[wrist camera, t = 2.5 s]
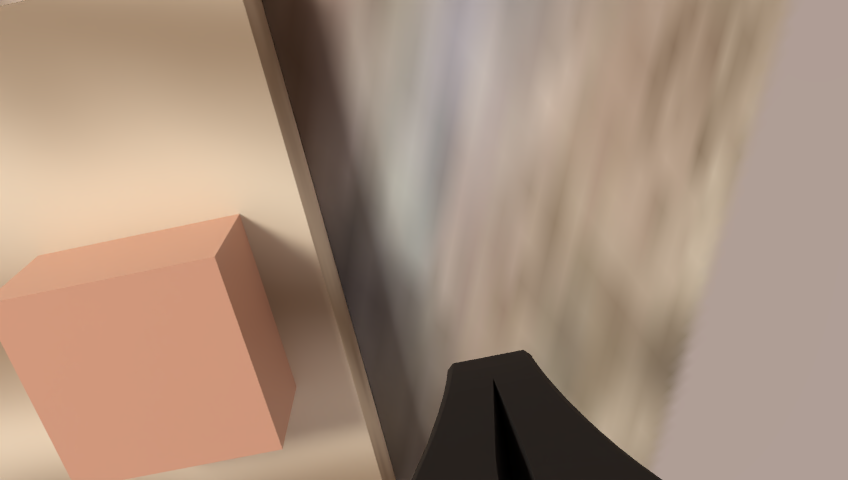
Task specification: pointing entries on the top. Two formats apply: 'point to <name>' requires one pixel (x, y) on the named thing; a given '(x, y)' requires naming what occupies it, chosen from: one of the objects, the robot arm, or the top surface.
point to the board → (176, 199)
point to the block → (150, 351)
